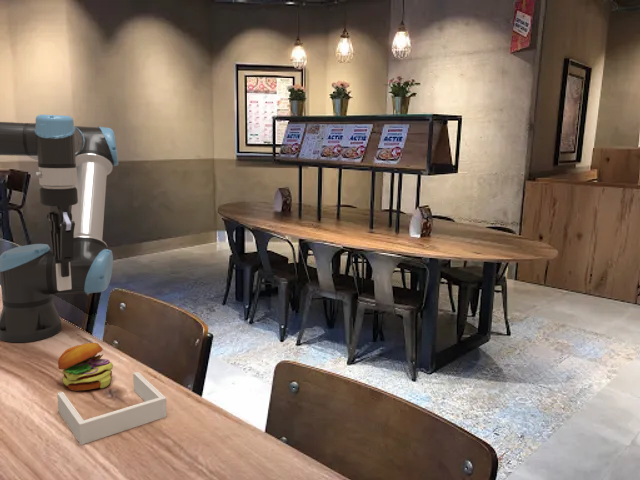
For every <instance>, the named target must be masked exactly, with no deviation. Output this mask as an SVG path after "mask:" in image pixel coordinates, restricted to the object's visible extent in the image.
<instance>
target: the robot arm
mask: <svg viewBox="0 0 640 480" xmlns="http://www.w3.org/2000/svg"><path fill="white" fill-rule="evenodd" d="M74 124H75V123H74V118H73V117H71V116H70V115H59V114H56V115H55V114H38V115H37V116H36V117H35V122H13V121H11V122H10V121H9V122H8V121H0V156H13V157H14V156H16V157H29V158H31V159H33V160H35V161H37V166H38V171H36V172H35V176H36V177H38V181H39V183H38V185H40V186H41V187H40V188H39V200H40V201H39V202H40V204H41V205H43V206H47V207H49V208H50V209H49V212H48V214H46V220H47V223H48V231H49V238H50V246H49V244H46V243H33V244H26V245H21V246H16V247H12V248H10V249H7V250H5V251H3V252H2V253H1V254H0V287H1V288H0V289H1V290H0V291H1V299H2V310H1V313H0V340H1V341H2V342H7V343H30V342H36V341H40V340H44V339H48V338H51V337H53V336H55V335H57V334H58V333H60V332H61V330H62V328H63V327H62V319H61V317H60V315H59V312H58V311H57V308H56V306H55V303H54V299H53V295H70V294H71V295H74V294H87V295H90V294H94V293H102V292H104V291H106V290H107V289H108V287H109V286H110V282H111V279H112V274H113V267H114V266H113V265H114V264H113V263H114V255H113V251H112V250H111V249H108V245H107V243H106V241H104V240H103V234H104V233H103V232H104V221H105V220H104V219H105V218H104V217H105V207H106V206H105V205H106V204H105V203H106V192H107V191H106V190H107V176H108V175H110V174H111V173H112V171H113V168H114V167H116V166H117V167H118V166H119V154H118V148H117V141H116V134H115V132H114V130H113V129H112V128H110V127H105V126H104V127H103V126H100V125H99V126H80V125H79V126H78V125H74ZM70 206H71V211H70Z"/></svg>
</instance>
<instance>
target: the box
mask: <svg viewBox="0 0 640 480" xmlns="http://www.w3.org/2000/svg"><path fill="white" fill-rule="evenodd" d="M132 376H133V377H132V379H133V381H132V382H133V391H134V392H135V393H136V394H137V395H138V396H139V397H140V398H141V399H142V400H143V402H140V403H136V404H134V405H129V406H126V407H124V408H121V409H117V410H114V411H110V412H107V413H104V414H100V415H97V416H94V417H90V418H87V419H85V420H84V418H83V417H82V416H81V414H80V413H79V412H78V410H77V409H76V408H75V407H74V405H73V404H72V402H71V401H70V400H69V398H68V396H66V394H65V393H64V392H63V391H60V392H57V409H58V413H59V415H60V416H61V418H62V420H63V421H64V423H65V424H66V425H67V427H68V428H69V430H70V431H71V433H72V434H73V435H74V437H75V439H76V440H77V442H78V444H79V445H80V446H82V445H85V444H86V445H87V444H88V443H91V442H95V441H97V440H101V439H103V438H107V437H109V436H113V435H115V434H119V433H121V432H122V433H123V432H125V431H127V430H128V431H129V430H130V429H134V428H136V427H139V426H143V425H146V424H149V423H151V422H155V421H159V420H160V419H164V418H167V397H166V396H165V395H164V394H162V393H161V392H160V390H158V389H157V388H156V387H155V386H154V385H153V384H152V383H151V382H149V381H148V380H147V378H145V376H143V375H142V374H141V373H140V372H139V371H135V372H133V374H132Z"/></svg>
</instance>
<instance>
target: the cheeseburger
mask: <svg viewBox="0 0 640 480" xmlns="http://www.w3.org/2000/svg"><path fill="white" fill-rule="evenodd" d="M103 350H104V349H103V347H102V346H101V345H100V344H99V343H97V342H86V343H83V344H79V345H75V346H72V347H69V348H67V349H65V351H63V352H62V354H60V356H59V357H58V361H57V365H58V366H57V368H58V370H62V372H61V373H62V374H63V377H62V383H63V384H64V385H65V386H66V387H67V388H68V390H72V391H75V392H76V391H88V390H93V389H94V390H95V389H98V388H100V389H104V388H107V387H108V386H109V385H110V383H111V380H112V377H113V371H112V369H113V368H114V365H113V362H112V361H110V359H108V358H102V357H103V356H104V353H102V354H99V353H101V352H102V351H103Z"/></svg>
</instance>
